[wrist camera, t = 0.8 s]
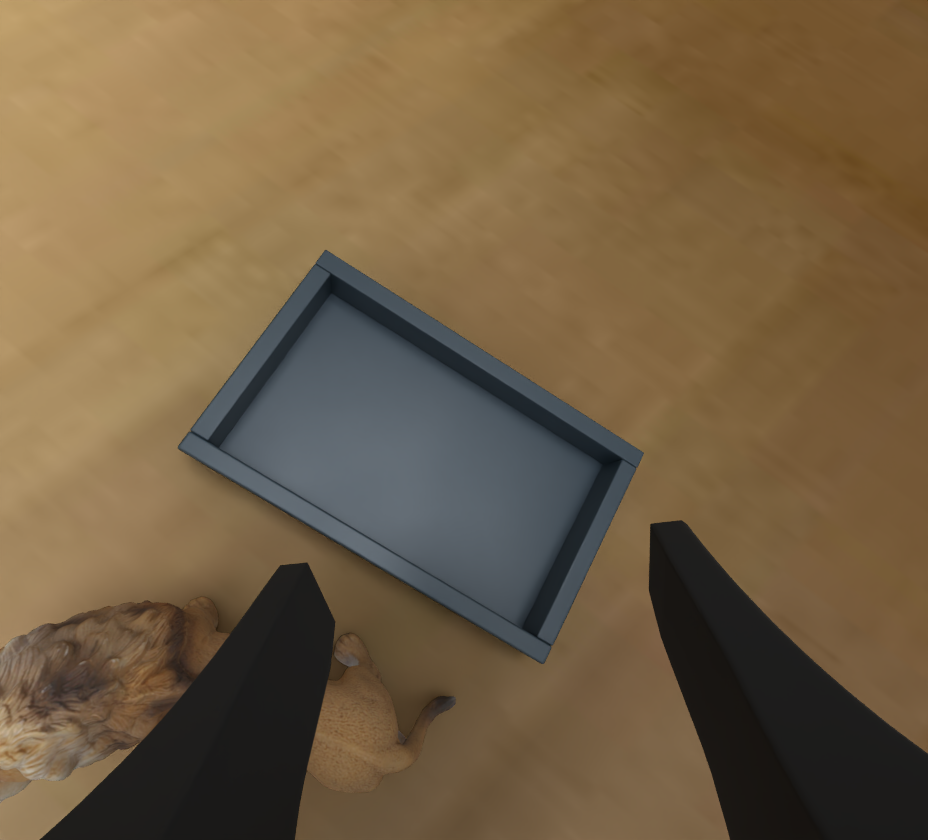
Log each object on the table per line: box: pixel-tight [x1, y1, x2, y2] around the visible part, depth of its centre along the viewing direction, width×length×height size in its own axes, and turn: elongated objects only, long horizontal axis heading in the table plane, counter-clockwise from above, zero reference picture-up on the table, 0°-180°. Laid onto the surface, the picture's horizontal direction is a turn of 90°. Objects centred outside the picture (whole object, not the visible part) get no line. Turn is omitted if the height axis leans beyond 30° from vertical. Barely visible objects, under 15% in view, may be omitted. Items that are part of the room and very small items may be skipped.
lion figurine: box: [0, 597, 456, 803], centre depth 19 cm, size 15×5×9 cm, turn 81°
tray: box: [178, 250, 644, 664], centre depth 25 cm, size 10×17×2 cm, turn 60°
